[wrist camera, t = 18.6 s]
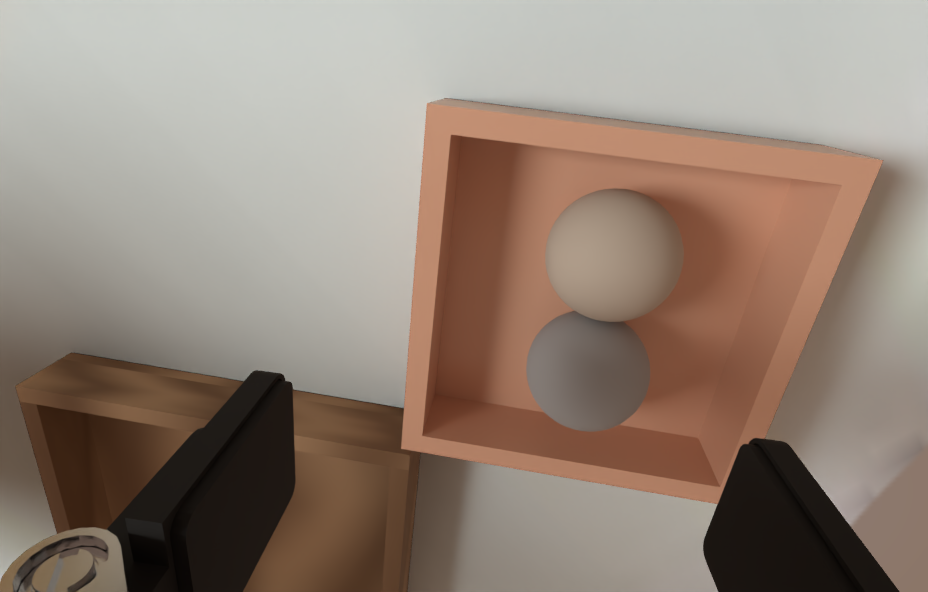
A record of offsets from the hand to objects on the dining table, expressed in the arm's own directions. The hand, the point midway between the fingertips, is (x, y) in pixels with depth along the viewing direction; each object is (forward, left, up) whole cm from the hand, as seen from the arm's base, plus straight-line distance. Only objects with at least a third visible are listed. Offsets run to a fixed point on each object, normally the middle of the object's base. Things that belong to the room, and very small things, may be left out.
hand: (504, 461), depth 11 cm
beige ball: (+3, +2, -11) cm, 11 cm away
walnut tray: (-12, -15, -11) cm, 22 cm away
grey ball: (+3, -2, -11) cm, 11 cm away
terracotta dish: (+3, 0, -11) cm, 11 cm away
